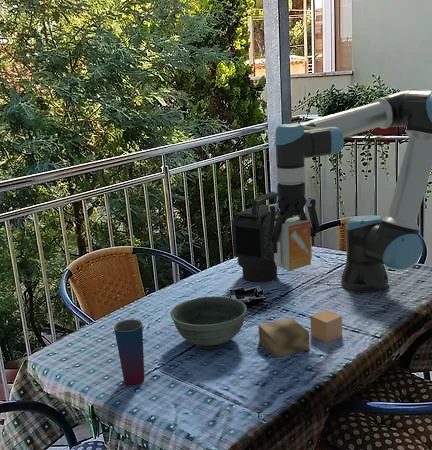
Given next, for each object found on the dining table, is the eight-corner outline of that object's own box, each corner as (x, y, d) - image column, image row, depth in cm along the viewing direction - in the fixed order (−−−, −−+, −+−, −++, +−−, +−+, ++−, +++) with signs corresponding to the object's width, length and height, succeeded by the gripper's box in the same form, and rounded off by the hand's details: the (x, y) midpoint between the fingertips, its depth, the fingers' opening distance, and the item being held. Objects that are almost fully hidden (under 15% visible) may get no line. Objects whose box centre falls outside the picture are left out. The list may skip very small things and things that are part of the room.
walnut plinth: (292, 334, 165) (291, 317, 163) (309, 349, 155) (309, 332, 154) (259, 341, 161) (258, 324, 160) (275, 357, 152) (274, 340, 151)
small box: (289, 271, 162) (288, 226, 158) (275, 265, 167) (273, 221, 163) (311, 264, 166) (310, 220, 162) (296, 259, 171) (295, 216, 167)
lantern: (253, 266, 219) (249, 188, 211) (296, 274, 209) (293, 192, 201) (230, 280, 207) (225, 197, 199) (274, 289, 197) (271, 202, 189)
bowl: (193, 368, 150) (190, 332, 147) (161, 337, 168) (158, 305, 165) (262, 346, 159) (261, 312, 156) (225, 319, 177) (223, 288, 174)
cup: (121, 374, 149) (115, 320, 145) (148, 372, 149) (142, 318, 145) (119, 389, 142) (112, 332, 138) (147, 386, 143) (141, 330, 139)
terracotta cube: (326, 329, 166) (326, 309, 165) (342, 336, 162) (342, 316, 160) (310, 335, 163) (310, 315, 162) (326, 343, 158) (326, 322, 157)
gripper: (319, 174, 166) (320, 250, 173) (248, 184, 160) (252, 262, 166) (333, 179, 160) (333, 257, 166) (259, 189, 153) (263, 271, 159)
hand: (293, 260), depth 166 cm, fingers closed on small box, 9 cm apart
